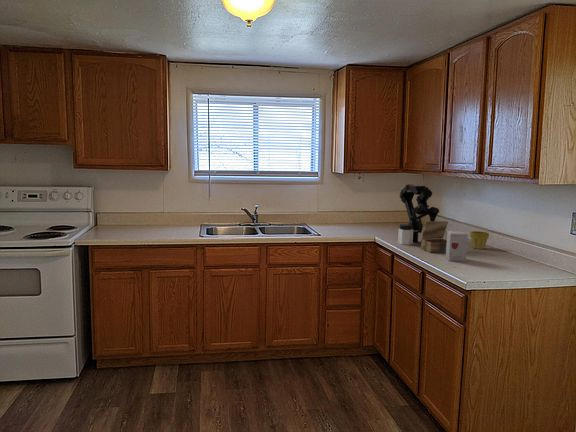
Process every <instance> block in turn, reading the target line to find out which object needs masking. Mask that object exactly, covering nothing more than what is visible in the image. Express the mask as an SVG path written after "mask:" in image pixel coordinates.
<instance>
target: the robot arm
mask: <svg viewBox="0 0 576 432" xmlns="http://www.w3.org/2000/svg"><path fill="white" fill-rule="evenodd" d="M432 195H433V191H432V190H431V189H429V187H427V186H426V185H415V184H412V183H411V184H405V186H404V187H403V188H402V189H401V190H400V192H399V198H400V200H401V202H402V203H403V204H404V206H405V208H406V212H407V217H408V218H409V222H408V223H407V224H410V225H413V243H420V241H419V234H422V233H423V229H424V225H423V222H422V218H425V217H426V216H429V222H430V221H436V218H437V216H438V215H439V213H440V209H439V208H438V207H435V206H432V207H430V205H429V204H428V201H429V199H430V198H431V197H432ZM415 196H416V199H415V201H416V203H417V206H416V207H414V204H413V199H414V197H415Z"/></svg>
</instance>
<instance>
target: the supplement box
mask: <svg viewBox="0 0 576 432" xmlns="http://www.w3.org/2000/svg"><path fill="white" fill-rule="evenodd" d="M446 232H447V233H446V235H447V236H446V240H447V246H446V253H445V258H446V259H447V260H448V262H449V261H450V262H464V263H465V262H466V261H467V245H468V233H466V231H459V230H458V231H457V230H447V231H446Z"/></svg>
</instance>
